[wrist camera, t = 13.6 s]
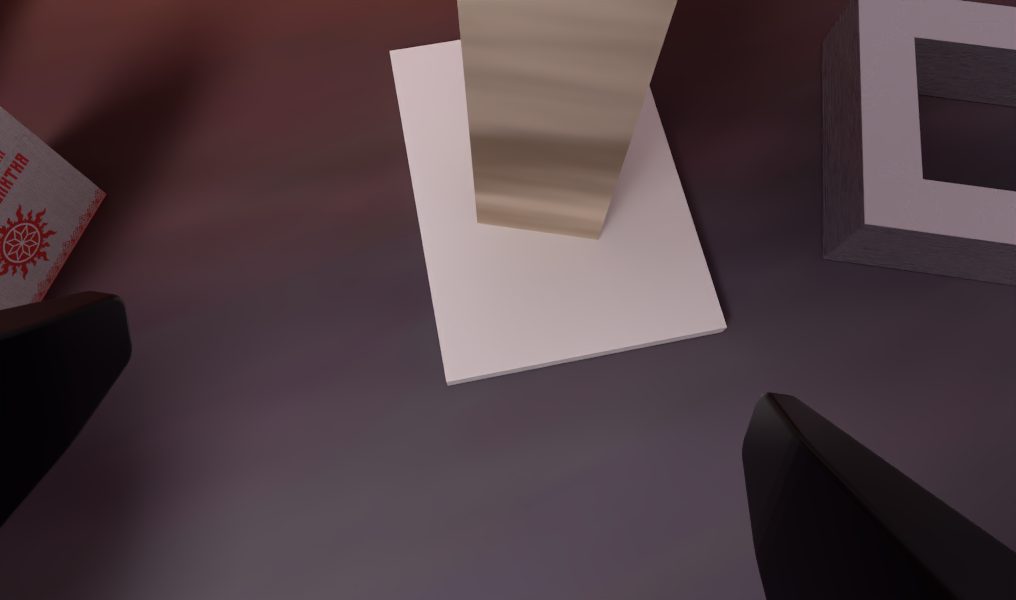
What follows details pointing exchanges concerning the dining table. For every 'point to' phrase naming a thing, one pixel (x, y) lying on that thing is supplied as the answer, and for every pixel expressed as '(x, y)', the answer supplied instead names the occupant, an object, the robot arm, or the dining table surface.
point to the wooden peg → (555, 104)
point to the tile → (546, 246)
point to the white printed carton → (37, 213)
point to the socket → (912, 137)
